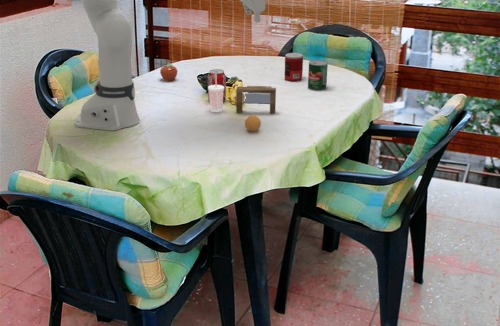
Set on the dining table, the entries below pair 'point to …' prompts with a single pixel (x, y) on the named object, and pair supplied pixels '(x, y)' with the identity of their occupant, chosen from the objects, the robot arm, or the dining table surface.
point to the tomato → (168, 72)
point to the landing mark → (257, 98)
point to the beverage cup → (216, 96)
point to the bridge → (255, 90)
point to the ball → (252, 123)
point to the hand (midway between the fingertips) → (253, 18)
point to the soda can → (220, 80)
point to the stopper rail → (260, 86)
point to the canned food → (293, 67)
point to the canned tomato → (317, 75)
